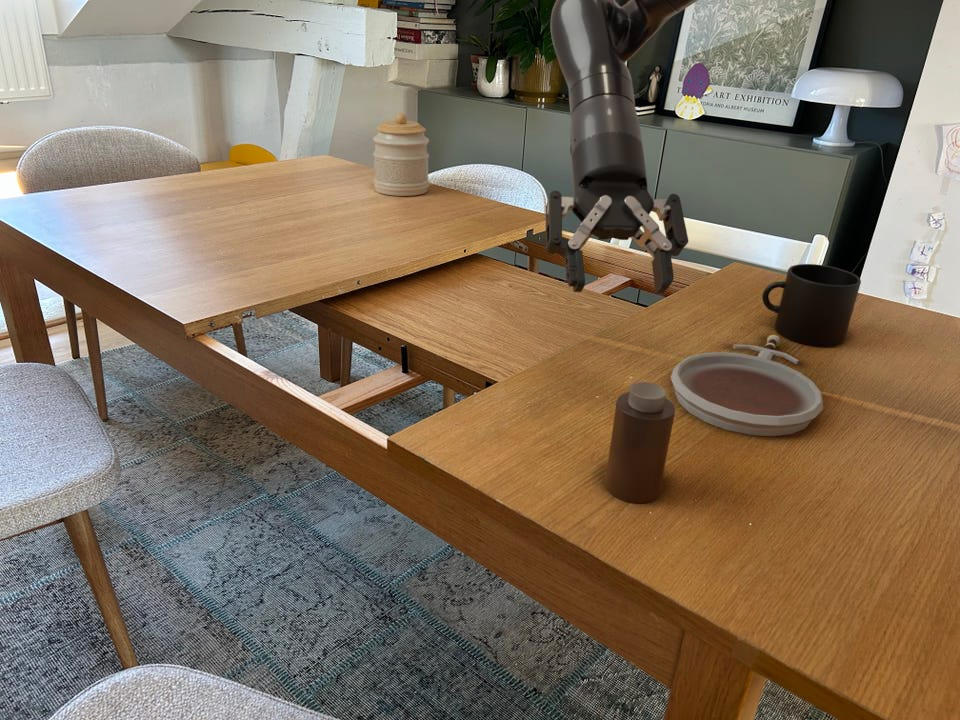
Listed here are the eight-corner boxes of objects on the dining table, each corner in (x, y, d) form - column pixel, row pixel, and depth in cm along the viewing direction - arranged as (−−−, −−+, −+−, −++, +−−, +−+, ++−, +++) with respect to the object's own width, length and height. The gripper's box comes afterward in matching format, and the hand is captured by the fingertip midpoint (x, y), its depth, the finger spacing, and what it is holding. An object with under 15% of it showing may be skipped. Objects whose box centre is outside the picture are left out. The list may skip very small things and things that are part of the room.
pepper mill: (666, 481, 71) (684, 385, 66) (651, 510, 67) (669, 410, 62) (615, 465, 73) (629, 371, 68) (597, 492, 69) (610, 394, 64)
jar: (430, 185, 180) (431, 110, 173) (427, 198, 169) (428, 118, 161) (376, 183, 180) (375, 107, 172) (370, 195, 168) (369, 115, 160)
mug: (759, 313, 112) (772, 256, 108) (844, 329, 108) (860, 270, 104) (752, 335, 104) (766, 275, 100) (844, 353, 100) (861, 291, 96)
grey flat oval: (843, 344, 97) (814, 433, 75) (838, 364, 98) (807, 457, 76) (714, 315, 104) (652, 387, 82) (710, 334, 106) (649, 410, 83)
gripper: (547, 126, 74) (558, 272, 69) (683, 131, 76) (704, 274, 70) (535, 169, 81) (544, 304, 76) (659, 172, 83) (677, 305, 77)
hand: (621, 289), depth 73 cm, fingers open, 8 cm apart
